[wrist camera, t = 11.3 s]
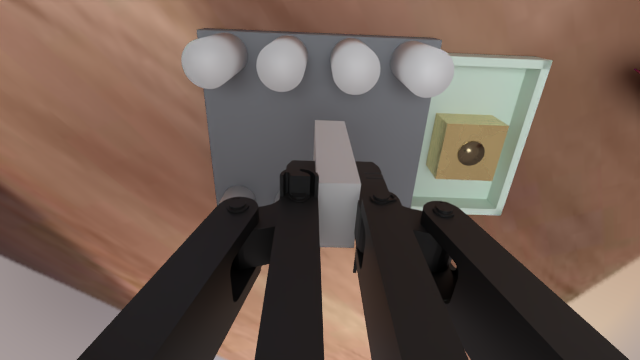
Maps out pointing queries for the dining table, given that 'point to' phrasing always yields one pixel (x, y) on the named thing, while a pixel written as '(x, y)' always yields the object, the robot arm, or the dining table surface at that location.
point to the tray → (484, 99)
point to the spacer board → (313, 102)
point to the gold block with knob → (465, 146)
